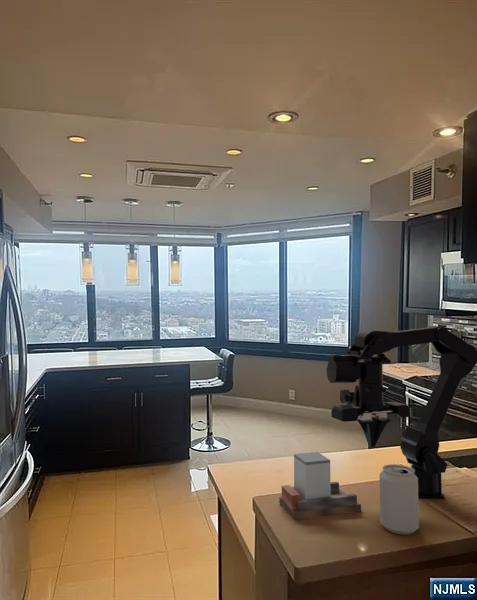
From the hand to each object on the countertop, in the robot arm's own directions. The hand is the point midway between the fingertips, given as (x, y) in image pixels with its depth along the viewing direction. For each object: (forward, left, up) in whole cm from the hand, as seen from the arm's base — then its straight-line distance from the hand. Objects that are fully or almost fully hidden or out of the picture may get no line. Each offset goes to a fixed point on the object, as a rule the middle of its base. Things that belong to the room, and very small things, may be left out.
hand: (371, 447), depth 106 cm
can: (-2, +15, -12) cm, 20 cm away
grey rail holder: (+13, +6, -12) cm, 19 cm away
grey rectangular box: (+15, +7, -10) cm, 19 cm away
